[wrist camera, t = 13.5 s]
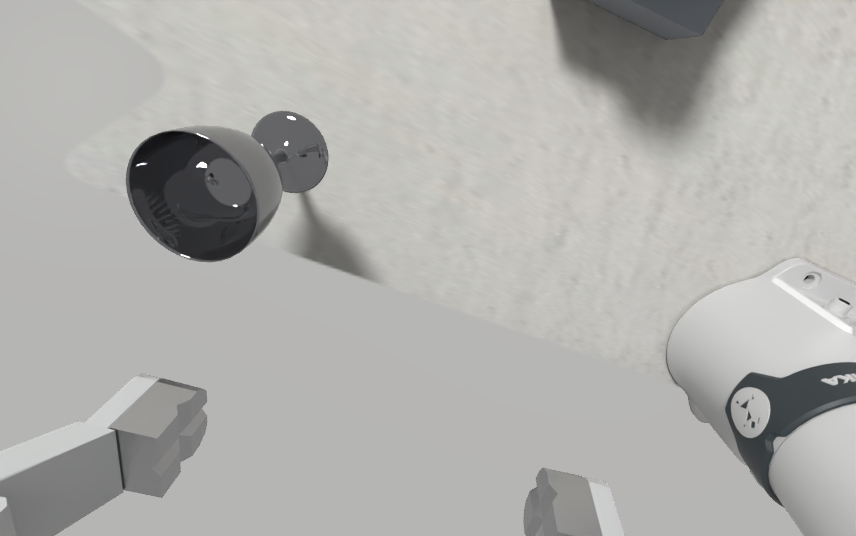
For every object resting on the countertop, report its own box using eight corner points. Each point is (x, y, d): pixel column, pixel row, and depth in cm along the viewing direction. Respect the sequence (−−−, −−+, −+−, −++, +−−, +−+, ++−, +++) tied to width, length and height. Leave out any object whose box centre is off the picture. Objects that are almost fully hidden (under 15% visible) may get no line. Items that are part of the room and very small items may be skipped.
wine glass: (333, 111, 38) (253, 139, 24) (332, 201, 41) (261, 270, 28) (242, 100, 38) (113, 122, 24) (248, 190, 41) (138, 253, 28)
